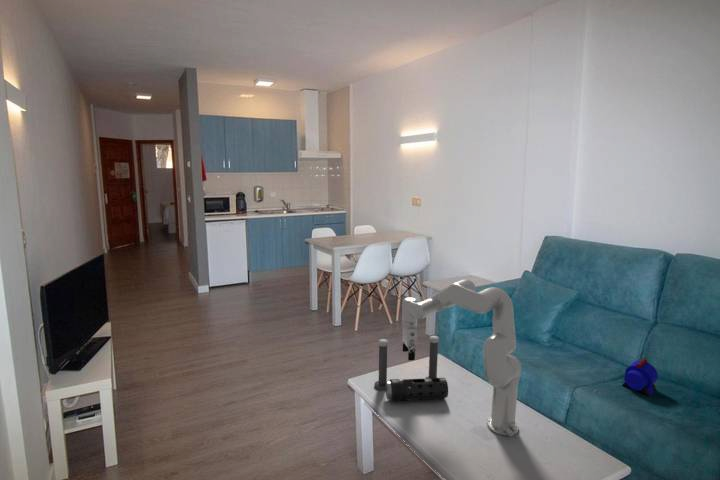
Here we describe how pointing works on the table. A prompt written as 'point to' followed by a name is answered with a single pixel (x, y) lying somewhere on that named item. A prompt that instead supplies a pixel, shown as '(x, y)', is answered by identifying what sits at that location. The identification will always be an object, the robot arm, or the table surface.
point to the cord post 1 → (382, 365)
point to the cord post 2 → (433, 357)
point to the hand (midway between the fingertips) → (408, 355)
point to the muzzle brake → (416, 389)
